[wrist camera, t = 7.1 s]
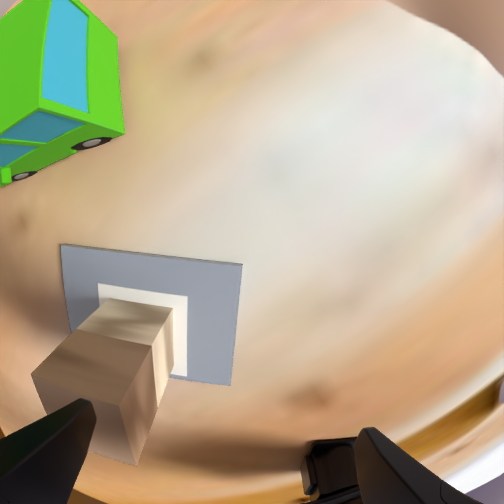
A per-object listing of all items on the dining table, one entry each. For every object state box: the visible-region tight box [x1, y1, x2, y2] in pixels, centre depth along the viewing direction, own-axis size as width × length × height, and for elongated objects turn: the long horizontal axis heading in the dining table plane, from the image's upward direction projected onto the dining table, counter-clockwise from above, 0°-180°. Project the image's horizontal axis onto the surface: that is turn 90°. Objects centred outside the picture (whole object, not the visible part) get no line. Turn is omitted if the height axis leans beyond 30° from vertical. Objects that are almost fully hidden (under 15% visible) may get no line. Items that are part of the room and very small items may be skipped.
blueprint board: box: [61, 244, 242, 386], centre depth 20 cm, size 14×10×1 cm
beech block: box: [76, 298, 174, 406], centre depth 17 cm, size 5×5×5 cm
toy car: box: [0, 0, 125, 187], centre depth 12 cm, size 10×13×10 cm
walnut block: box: [31, 329, 158, 466], centre depth 12 cm, size 5×5×5 cm
